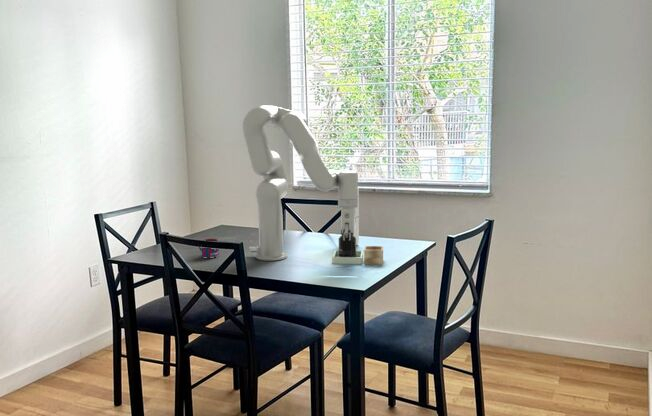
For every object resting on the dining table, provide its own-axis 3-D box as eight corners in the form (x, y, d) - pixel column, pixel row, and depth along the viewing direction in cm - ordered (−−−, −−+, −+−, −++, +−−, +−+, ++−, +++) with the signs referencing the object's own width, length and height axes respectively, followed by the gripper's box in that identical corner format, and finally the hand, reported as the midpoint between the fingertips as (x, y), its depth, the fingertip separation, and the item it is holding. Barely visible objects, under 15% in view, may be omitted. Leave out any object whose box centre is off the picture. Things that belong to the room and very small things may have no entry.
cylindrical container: (358, 246, 263) (359, 188, 259) (342, 246, 263) (342, 188, 259) (358, 243, 270) (358, 186, 266) (342, 243, 270) (342, 186, 266)
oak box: (364, 265, 232) (364, 249, 231) (364, 260, 239) (365, 245, 238) (382, 265, 231) (382, 250, 230) (383, 261, 238) (383, 246, 237)
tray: (332, 264, 233) (332, 257, 232) (335, 257, 244) (335, 250, 243) (361, 265, 232) (361, 257, 231) (363, 258, 243) (363, 250, 242)
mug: (208, 259, 242) (207, 242, 241) (194, 255, 249) (193, 239, 248) (222, 256, 246) (221, 240, 245) (208, 252, 254) (207, 236, 252)
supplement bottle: (335, 260, 236) (335, 230, 234) (343, 256, 242) (343, 227, 240) (351, 262, 233) (351, 232, 231) (359, 258, 239) (358, 228, 237)
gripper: (356, 206, 225) (356, 253, 228) (358, 199, 242) (358, 243, 245) (336, 206, 226) (336, 253, 229) (340, 199, 243) (340, 243, 246)
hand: (347, 247), depth 237 cm, fingers open, 7 cm apart
